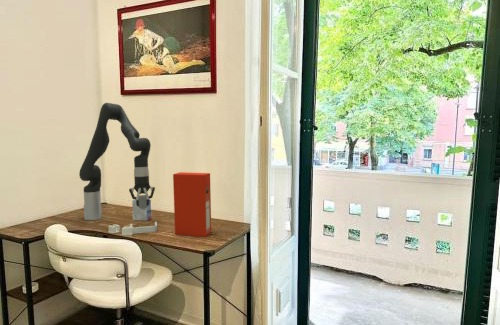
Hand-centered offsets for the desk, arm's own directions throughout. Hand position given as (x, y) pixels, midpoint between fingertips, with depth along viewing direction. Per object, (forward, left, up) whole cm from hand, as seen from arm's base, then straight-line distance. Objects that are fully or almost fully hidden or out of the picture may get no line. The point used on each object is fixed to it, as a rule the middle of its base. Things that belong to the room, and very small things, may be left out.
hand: (142, 206), depth 180 cm
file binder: (+25, -15, -14) cm, 32 cm away
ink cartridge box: (-1, +23, -14) cm, 27 cm away
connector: (0, +2, -1) cm, 3 cm away
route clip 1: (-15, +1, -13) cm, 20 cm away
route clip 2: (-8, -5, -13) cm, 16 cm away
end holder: (0, 0, -13) cm, 13 cm away
